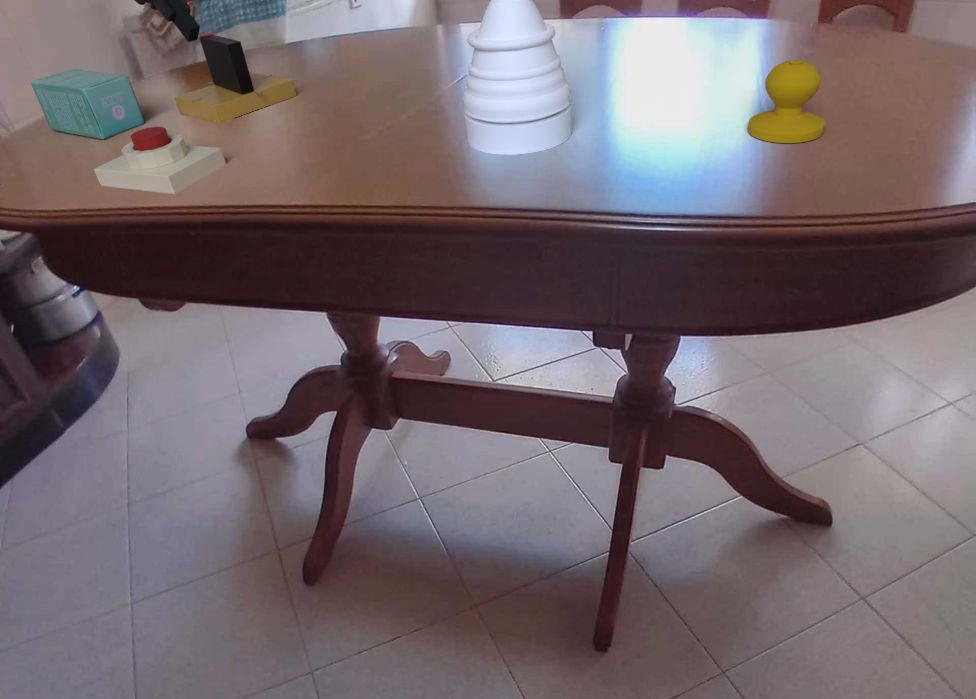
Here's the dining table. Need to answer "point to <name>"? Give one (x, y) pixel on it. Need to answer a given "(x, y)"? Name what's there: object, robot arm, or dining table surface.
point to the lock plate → (234, 98)
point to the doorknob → (789, 105)
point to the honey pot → (515, 83)
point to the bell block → (161, 167)
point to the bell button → (150, 138)
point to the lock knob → (227, 63)
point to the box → (88, 103)
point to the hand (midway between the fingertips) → (194, 34)
